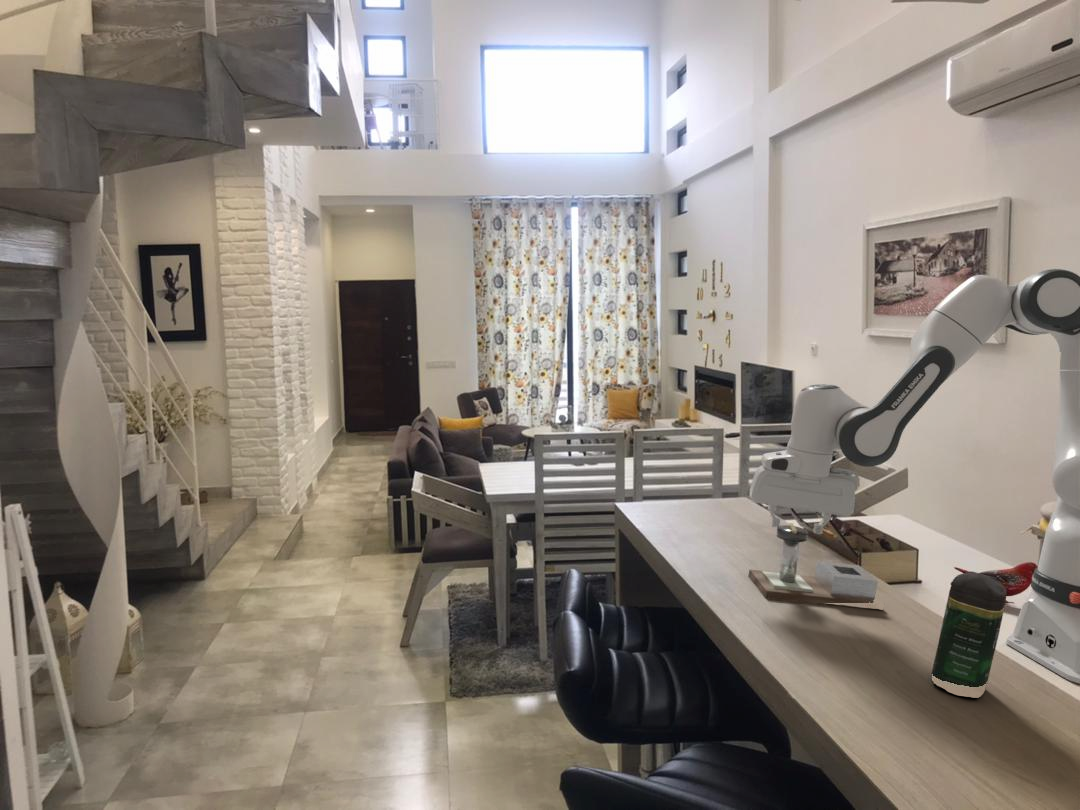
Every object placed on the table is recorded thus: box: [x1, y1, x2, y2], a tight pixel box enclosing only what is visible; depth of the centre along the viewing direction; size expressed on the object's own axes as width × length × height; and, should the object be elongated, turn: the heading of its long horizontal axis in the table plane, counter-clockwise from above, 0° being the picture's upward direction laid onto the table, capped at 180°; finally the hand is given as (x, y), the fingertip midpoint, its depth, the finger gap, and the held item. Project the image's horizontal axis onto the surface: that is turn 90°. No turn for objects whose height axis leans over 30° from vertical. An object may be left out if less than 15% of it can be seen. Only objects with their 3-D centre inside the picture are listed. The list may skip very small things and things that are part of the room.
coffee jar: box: [931, 571, 1007, 687], centre depth 128 cm, size 10×8×19 cm
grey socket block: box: [813, 560, 879, 600], centre depth 165 cm, size 9×9×4 cm
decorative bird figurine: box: [953, 561, 1038, 605], centre depth 174 cm, size 3×18×10 cm, turn 81°
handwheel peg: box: [776, 522, 809, 583], centre depth 164 cm, size 6×6×11 cm
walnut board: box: [748, 569, 874, 604], centre depth 165 cm, size 12×24×2 cm, turn 92°
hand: (796, 529), depth 163 cm, fingers open, 7 cm apart
